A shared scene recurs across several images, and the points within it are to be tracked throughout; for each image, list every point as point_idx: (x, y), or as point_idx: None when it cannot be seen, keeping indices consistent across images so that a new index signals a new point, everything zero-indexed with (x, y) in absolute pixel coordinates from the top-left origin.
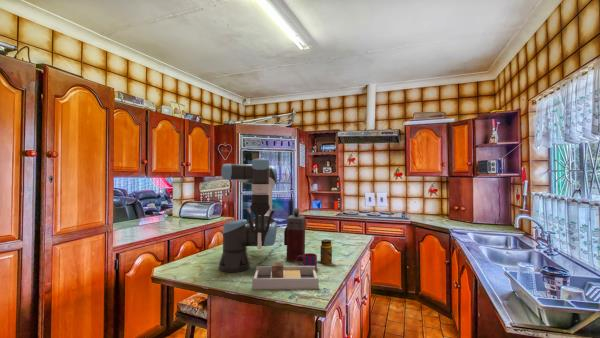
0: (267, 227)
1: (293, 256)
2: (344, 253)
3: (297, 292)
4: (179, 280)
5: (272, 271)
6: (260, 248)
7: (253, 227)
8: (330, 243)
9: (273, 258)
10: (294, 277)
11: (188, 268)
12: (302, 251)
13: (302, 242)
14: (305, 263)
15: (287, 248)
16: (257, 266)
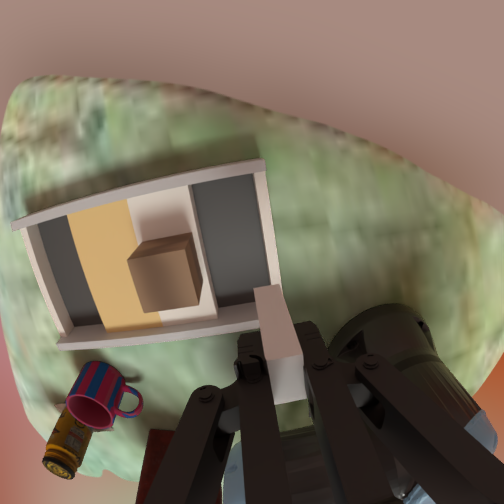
0: (195, 424)
1: None
2: None
3: (81, 163)
4: (498, 214)
5: (184, 240)
6: (257, 290)
7: (369, 416)
8: (44, 456)
9: None
10: (100, 251)
11: (491, 306)
12: (145, 455)
13: (140, 481)
14: (104, 381)
15: None
16: None
